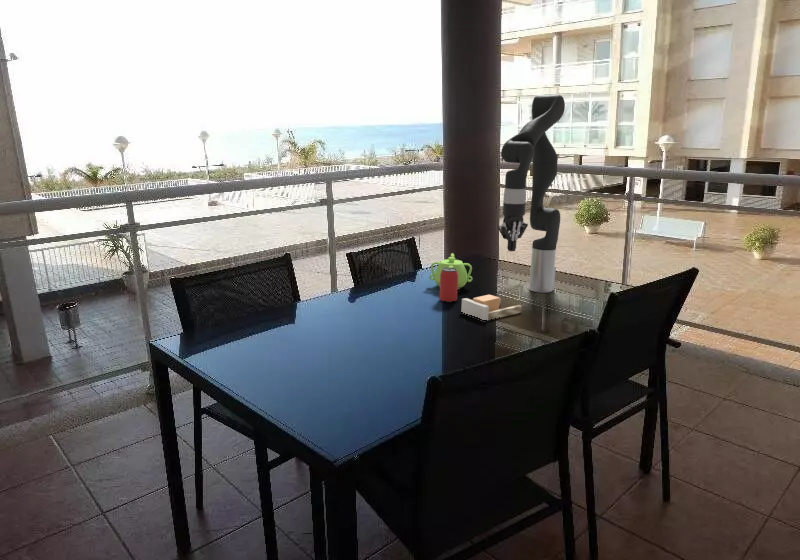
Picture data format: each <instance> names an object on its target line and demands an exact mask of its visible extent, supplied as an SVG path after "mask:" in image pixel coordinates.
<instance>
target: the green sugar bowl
mask: <svg viewBox="0 0 800 560" xmlns="http://www.w3.org/2000/svg"><path fill="white" fill-rule="evenodd" d="M435 265H437V267H436V268H435V269H436V270H435V269H434V266H435ZM465 266H466V267H469V271H468V273H467V269H466V267H465ZM443 268H455V269H457V273H458V289H461V288H464V287H465V285H466V284H467V282H468V283H471V282H472V281H473V276H471V273H472V270H473V267H472V265H471V264H470V263H468V262H467V263H466V262H464V263H463V261H462V260H459V259H456V257H455V254H454V253H453V252H452V253H450V256H449V257H447V259H442V260H440V261H433V262H432V263H431V264H430V270H431V274H430V275H429V279H430V280H431V281H434V283H435V284H436V285H437V286H438V287H440V274H441V271H442V269H443Z"/></svg>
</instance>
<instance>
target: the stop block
mask: <svg viewBox="0 0 800 560" xmlns="http://www.w3.org/2000/svg"><path fill="white" fill-rule="evenodd" d="M460 311H461V312H463V313H462V314H464V313H465V314H464V315H466V314H468V315H467V316H469V315H472V316H475V317H478V318H480V319H482V320H487V321H489V320H488V314H489V306H487V305H484V304H481V303H479V302H476V301H473V299H471V298H468V297H466V298H461V309H460ZM482 320H481V321H482Z"/></svg>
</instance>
